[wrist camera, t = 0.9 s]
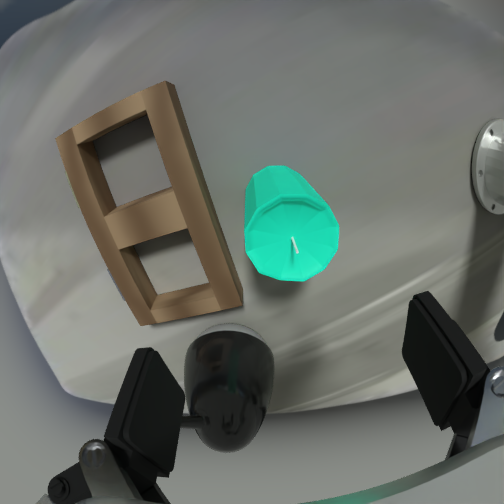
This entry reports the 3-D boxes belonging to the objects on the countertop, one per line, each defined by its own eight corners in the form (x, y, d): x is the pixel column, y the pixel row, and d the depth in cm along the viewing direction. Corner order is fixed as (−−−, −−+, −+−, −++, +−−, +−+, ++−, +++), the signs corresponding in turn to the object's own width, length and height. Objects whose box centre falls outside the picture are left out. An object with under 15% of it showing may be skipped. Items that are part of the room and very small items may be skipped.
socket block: (174, 84, 21) (165, 80, 19) (242, 288, 31) (242, 305, 28) (69, 136, 23) (52, 140, 20) (145, 310, 32) (137, 326, 29)
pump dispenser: (218, 293, 31) (201, 412, 17) (288, 335, 34) (305, 444, 20) (175, 343, 35) (150, 446, 21) (239, 376, 37) (238, 473, 24)
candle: (252, 158, 25) (256, 188, 14) (315, 173, 25) (363, 214, 15) (239, 218, 27) (233, 287, 17) (298, 231, 28) (328, 303, 17)
